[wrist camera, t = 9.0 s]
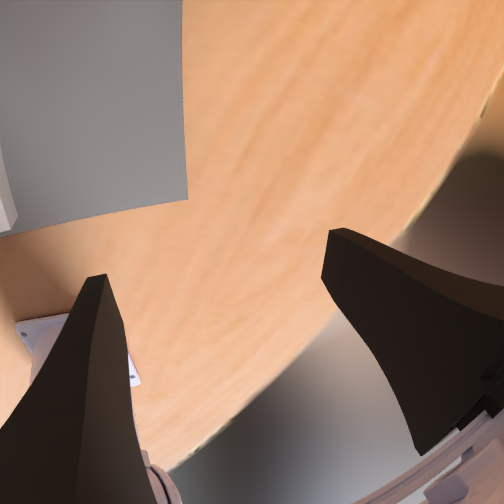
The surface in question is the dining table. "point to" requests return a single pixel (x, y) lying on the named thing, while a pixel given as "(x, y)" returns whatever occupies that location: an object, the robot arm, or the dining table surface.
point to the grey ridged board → (89, 109)
